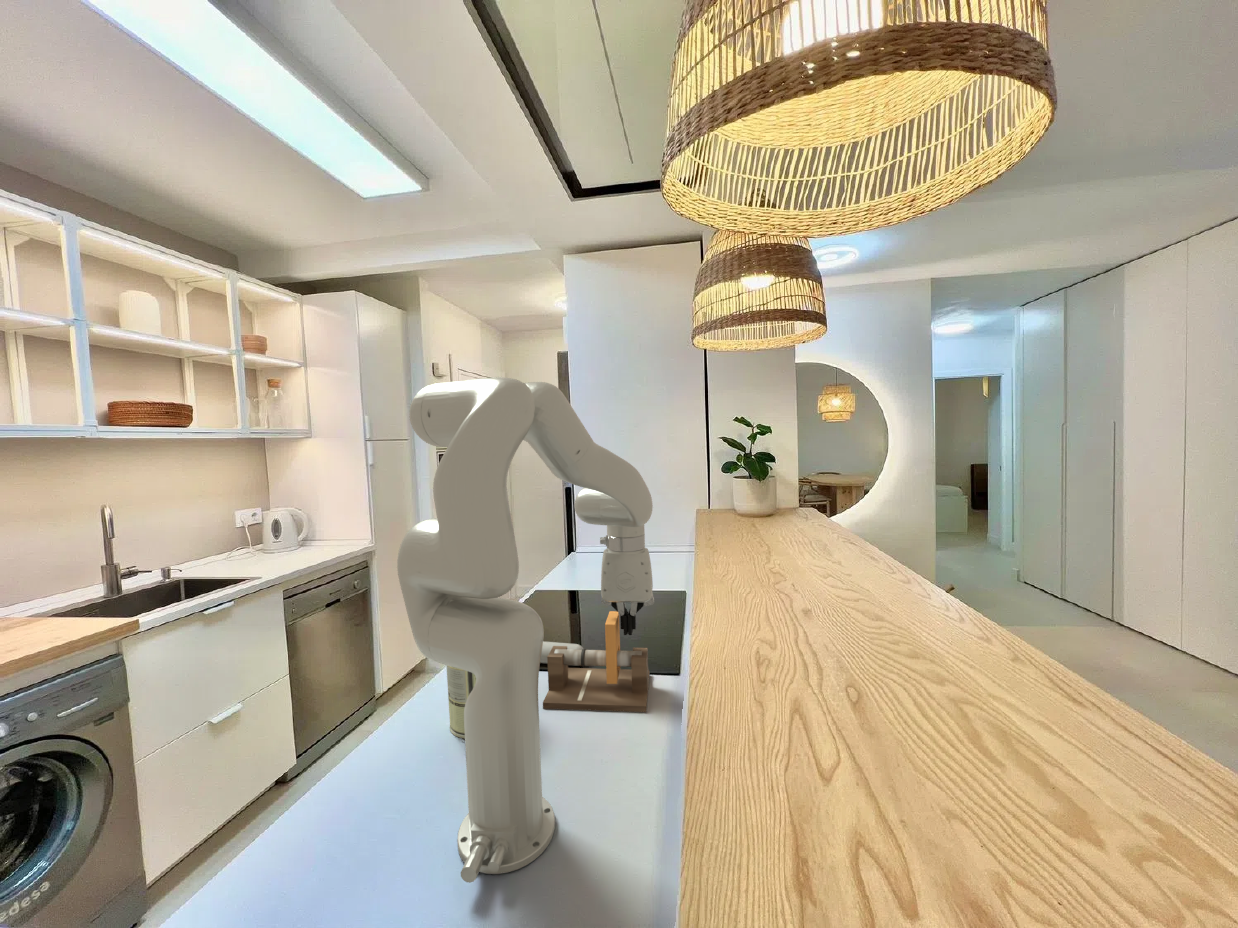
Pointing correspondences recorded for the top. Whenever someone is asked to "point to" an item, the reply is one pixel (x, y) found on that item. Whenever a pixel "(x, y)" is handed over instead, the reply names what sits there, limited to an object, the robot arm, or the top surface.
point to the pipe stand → (596, 681)
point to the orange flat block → (612, 646)
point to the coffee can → (458, 697)
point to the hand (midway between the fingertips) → (628, 632)
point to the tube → (548, 645)
